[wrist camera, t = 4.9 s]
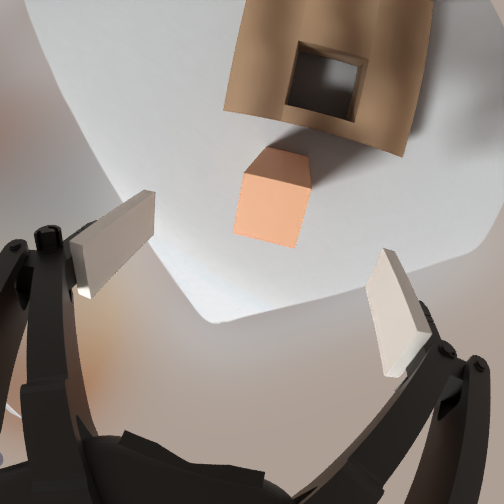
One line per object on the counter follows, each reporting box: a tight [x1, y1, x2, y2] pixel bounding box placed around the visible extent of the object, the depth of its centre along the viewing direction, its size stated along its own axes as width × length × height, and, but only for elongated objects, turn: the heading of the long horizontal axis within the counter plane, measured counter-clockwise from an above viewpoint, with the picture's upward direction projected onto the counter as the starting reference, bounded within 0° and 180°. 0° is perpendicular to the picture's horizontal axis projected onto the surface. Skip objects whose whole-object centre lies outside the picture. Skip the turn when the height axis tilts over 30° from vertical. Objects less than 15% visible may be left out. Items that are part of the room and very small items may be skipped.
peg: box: [233, 147, 312, 248], centre depth 24 cm, size 4×4×12 cm
